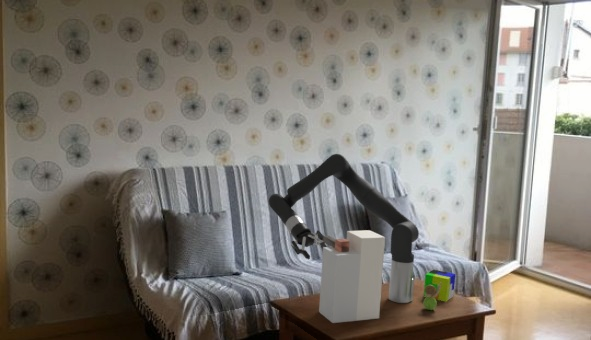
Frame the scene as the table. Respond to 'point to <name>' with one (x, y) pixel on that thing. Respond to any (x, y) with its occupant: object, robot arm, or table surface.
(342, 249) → the marker bar
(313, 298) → the table surface
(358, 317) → the step stand
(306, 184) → the robot arm
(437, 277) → the puzzle toy
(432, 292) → the snail figurine
